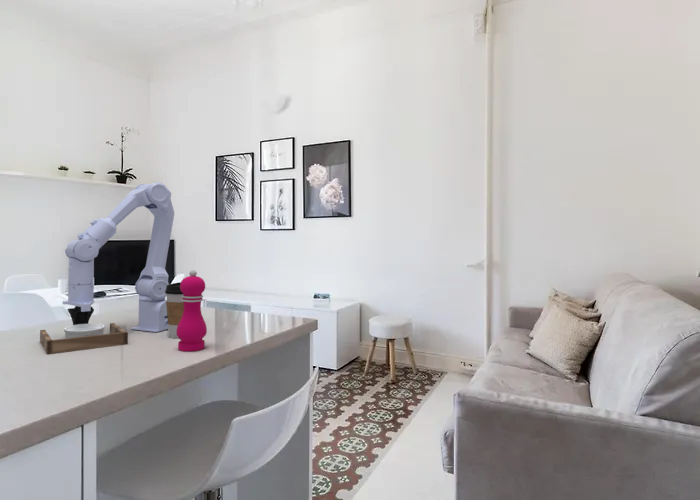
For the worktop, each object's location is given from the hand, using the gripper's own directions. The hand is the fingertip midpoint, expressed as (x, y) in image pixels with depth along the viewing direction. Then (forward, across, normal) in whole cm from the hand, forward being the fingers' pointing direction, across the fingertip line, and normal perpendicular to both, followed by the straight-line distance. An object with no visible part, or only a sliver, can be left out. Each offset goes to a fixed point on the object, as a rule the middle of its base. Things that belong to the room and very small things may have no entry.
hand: (80, 334), depth 112 cm
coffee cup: (+1, +11, +23) cm, 25 cm away
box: (+1, +5, 0) cm, 5 cm away
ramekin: (+1, +6, 0) cm, 6 cm away
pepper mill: (+1, +26, +20) cm, 33 cm away
